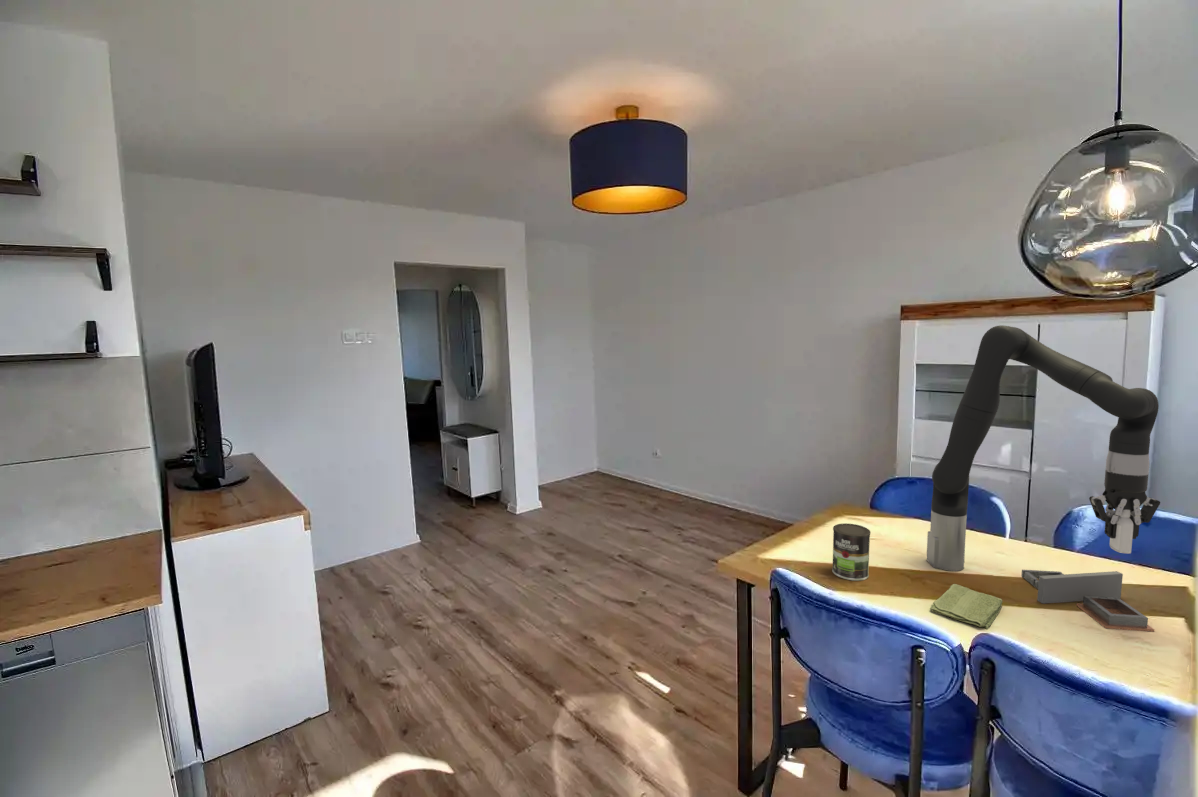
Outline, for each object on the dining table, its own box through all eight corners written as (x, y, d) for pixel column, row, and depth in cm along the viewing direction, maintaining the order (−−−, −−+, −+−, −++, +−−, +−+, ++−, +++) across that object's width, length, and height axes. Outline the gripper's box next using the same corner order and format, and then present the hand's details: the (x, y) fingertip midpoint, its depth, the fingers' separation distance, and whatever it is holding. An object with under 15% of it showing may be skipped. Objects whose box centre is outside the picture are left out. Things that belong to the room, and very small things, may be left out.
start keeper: (1036, 588, 151) (1036, 581, 151) (1021, 575, 159) (1021, 569, 159) (1077, 591, 149) (1077, 584, 149) (1059, 578, 157) (1060, 571, 157)
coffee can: (862, 584, 158) (864, 538, 156) (827, 574, 165) (827, 530, 163) (873, 571, 165) (875, 528, 163) (839, 562, 172) (839, 520, 170)
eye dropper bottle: (1105, 550, 133) (1109, 503, 132) (1110, 543, 137) (1114, 498, 135) (1129, 555, 130) (1134, 507, 128) (1134, 549, 133) (1139, 502, 132)
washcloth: (927, 613, 142) (928, 602, 141) (951, 590, 153) (951, 580, 152) (986, 634, 132) (987, 621, 131) (1007, 608, 143) (1008, 596, 142)
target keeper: (1105, 628, 131) (1106, 616, 131) (1076, 605, 142) (1077, 594, 142) (1154, 631, 129) (1155, 619, 129) (1121, 608, 140) (1122, 597, 139)
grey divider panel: (1042, 603, 144) (1044, 578, 143) (1037, 600, 145) (1039, 576, 144) (1120, 598, 145) (1122, 573, 144) (1114, 595, 146) (1116, 571, 145)
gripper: (1149, 466, 133) (1143, 533, 135) (1082, 465, 136) (1077, 530, 138) (1174, 474, 126) (1167, 544, 128) (1103, 473, 129) (1097, 542, 131)
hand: (1120, 537), depth 133 cm, fingers closed on eye dropper bottle, 3 cm apart
